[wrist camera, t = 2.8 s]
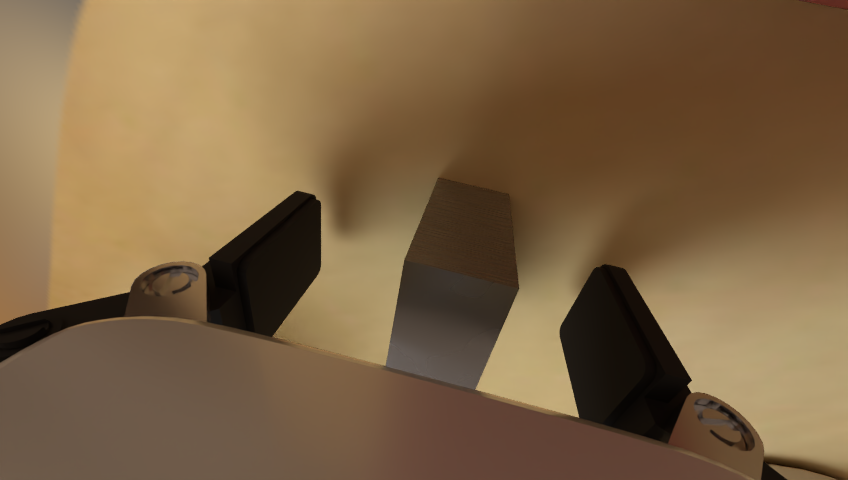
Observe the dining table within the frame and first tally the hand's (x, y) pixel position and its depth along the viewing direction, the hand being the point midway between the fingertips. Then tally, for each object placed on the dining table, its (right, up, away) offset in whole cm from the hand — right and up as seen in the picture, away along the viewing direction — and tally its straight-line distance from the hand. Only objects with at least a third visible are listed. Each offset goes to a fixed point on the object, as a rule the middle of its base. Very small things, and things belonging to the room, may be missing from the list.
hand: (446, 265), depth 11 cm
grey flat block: (0, +1, +1) cm, 2 cm away
